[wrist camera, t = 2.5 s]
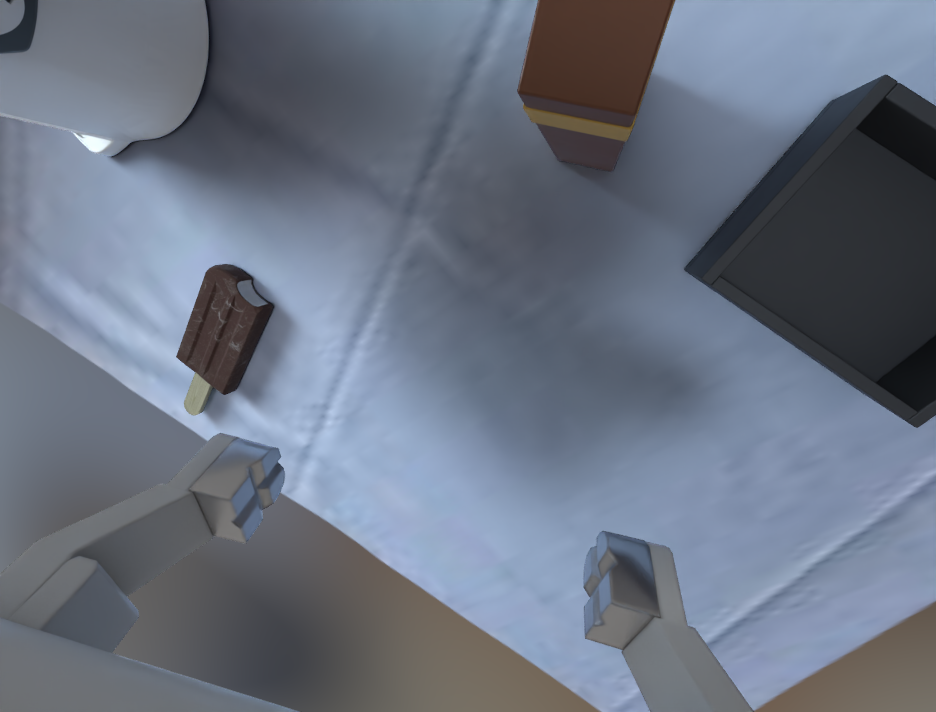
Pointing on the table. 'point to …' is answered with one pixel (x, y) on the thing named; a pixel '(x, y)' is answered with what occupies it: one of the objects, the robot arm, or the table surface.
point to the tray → (846, 247)
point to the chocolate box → (590, 73)
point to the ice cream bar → (221, 333)
